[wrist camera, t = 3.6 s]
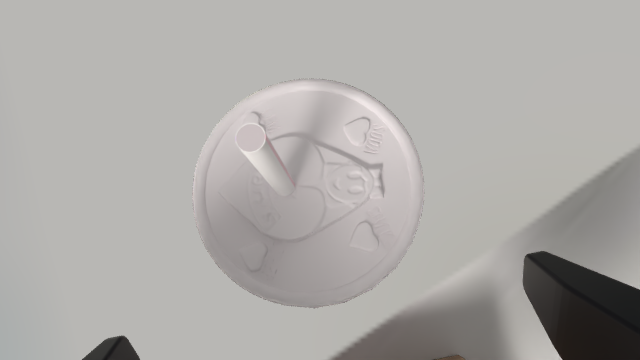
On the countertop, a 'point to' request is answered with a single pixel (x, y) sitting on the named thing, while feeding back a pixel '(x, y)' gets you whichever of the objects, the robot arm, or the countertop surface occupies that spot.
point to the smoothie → (308, 193)
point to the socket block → (452, 358)
